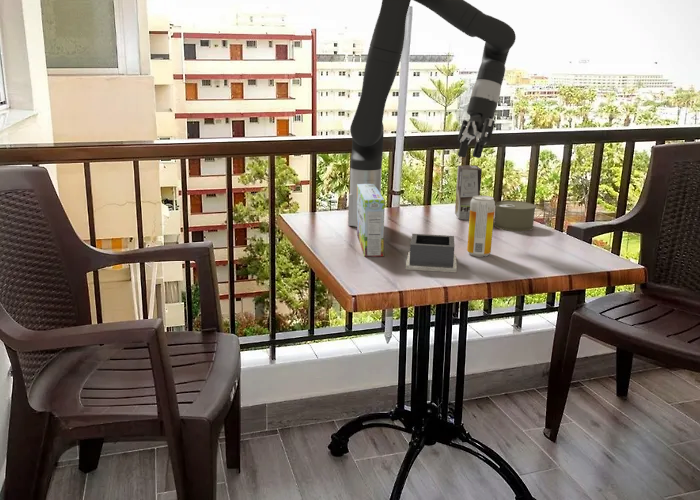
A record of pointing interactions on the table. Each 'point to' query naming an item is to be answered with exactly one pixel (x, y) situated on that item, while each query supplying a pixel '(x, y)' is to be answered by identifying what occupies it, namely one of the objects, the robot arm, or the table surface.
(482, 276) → the table surface
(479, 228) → the beer can
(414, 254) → the can holder
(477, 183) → the coffee box
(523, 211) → the grey round container
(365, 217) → the snack box
